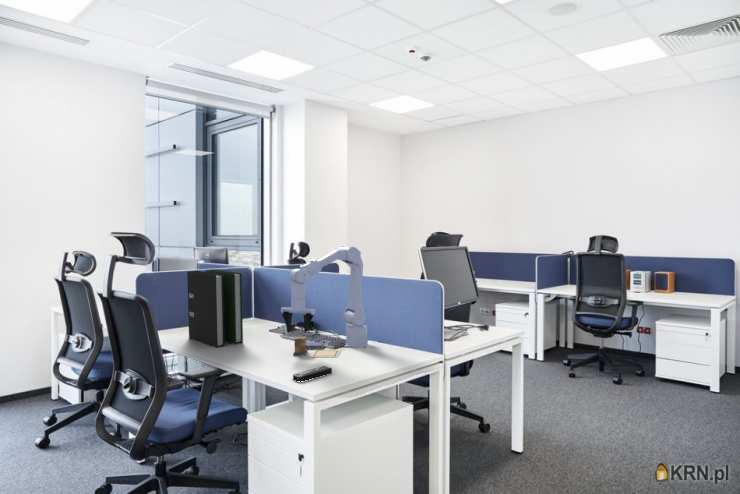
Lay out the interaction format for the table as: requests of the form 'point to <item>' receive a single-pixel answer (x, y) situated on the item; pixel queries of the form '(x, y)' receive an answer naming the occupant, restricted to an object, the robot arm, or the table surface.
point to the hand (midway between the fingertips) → (297, 330)
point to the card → (325, 353)
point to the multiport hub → (312, 373)
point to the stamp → (300, 346)
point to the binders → (215, 307)
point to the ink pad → (314, 346)
